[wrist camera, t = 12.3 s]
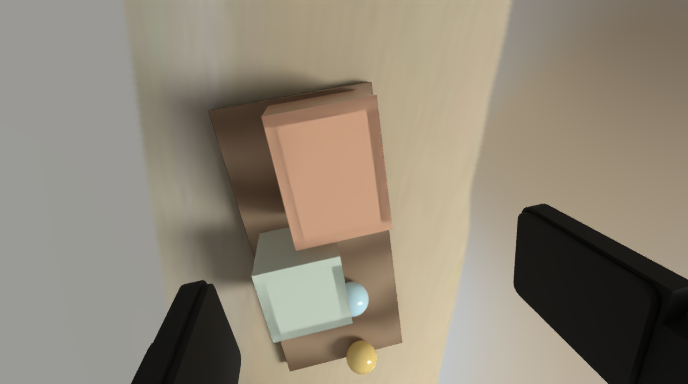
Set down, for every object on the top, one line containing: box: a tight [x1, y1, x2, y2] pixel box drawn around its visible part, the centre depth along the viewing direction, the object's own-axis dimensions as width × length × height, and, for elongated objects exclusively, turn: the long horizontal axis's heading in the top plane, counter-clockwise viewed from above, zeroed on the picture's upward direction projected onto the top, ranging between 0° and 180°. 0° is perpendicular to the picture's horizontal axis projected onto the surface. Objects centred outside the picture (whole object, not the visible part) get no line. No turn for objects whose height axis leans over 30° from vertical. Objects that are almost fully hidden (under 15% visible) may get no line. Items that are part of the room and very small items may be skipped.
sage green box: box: [252, 227, 353, 343], centre depth 25 cm, size 6×6×6 cm
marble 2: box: [346, 340, 377, 375], centre depth 31 cm, size 3×3×3 cm
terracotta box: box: [261, 90, 392, 251], centre depth 22 cm, size 9×7×6 cm
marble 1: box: [345, 282, 369, 317], centre depth 29 cm, size 3×3×3 cm
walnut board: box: [208, 82, 402, 371], centre depth 29 cm, size 26×12×1 cm, turn 9°
